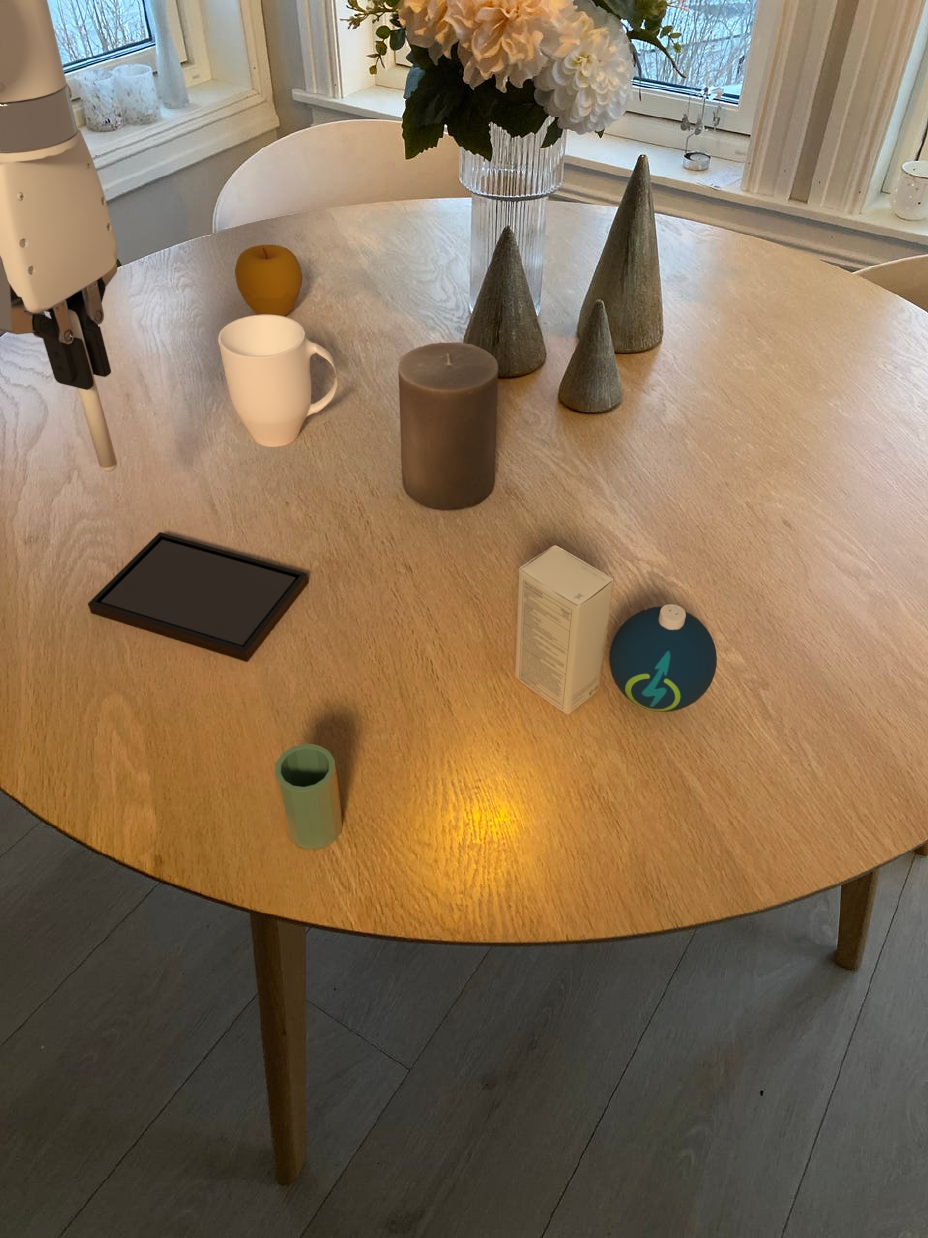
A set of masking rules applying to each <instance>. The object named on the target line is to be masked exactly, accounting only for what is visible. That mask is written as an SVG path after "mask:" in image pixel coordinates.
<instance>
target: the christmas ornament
mask: <svg viewBox="0 0 928 1238" xmlns="http://www.w3.org/2000/svg"><path fill="white" fill-rule="evenodd" d="M608 662H609V668H610V672H611V676H612V679H613V681H614V683H615V685H616V686H617V688H618V689H619V691H620V692H621V693H622V694H623V696H624V697H625V698H626V699H628V700H629V701H630V702H632V703H633V704H634V705H636V706H637V707H640V708H643V709H645V710H648V711H653V712H660V713H669V712H675V711H679V710H682V709H684V708H685V709H686V708H687V707H689V706H691V705H692V704H694V703H696V702H697V701H698V700H700V699H701V698H702V697H703V696H704V694H705V693H706V692H707V691H708V689H709V688H710V686H711V684H712V683H713V680H714V678H715V675H716V672H717V667H718V666H717V665H718V654H717V648H716V644H715V642H714V639H713V637H712V635H711V633H710V631H709V630H708V628H707V627H706V626H705V624H704V623H703V622H702V621H700V619H698V617H696V616H695V615H693V614H692V613H689V612H688V611H686V610H685V609H684V608H683V607H682V606H680V605H678V604H674V603H669V604H667V603H666V604H665V605H663V606H653V607H648V608H645V609H642V610H640V611H638V612H636V613H634V614H633V615H631V616H630V617H629V618H627V619H626V620H625V621H624V622H623V623H622V625H620V626H619V628H618V629H617V631H616V632H615V635H614V637H613V639H612V641H611V645H610V649H609V661H608Z"/></svg>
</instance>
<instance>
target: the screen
mask: <svg viewBox="0 0 928 1238" xmlns="http://www.w3.org/2000/svg"><path fill="white" fill-rule="evenodd" d="M295 580H296V577H292V576H289V575H285V574H282V573H278V572H275V571H271V570H268V569H264V568H260V567H257V566H253V565H250V564H246V563H243V562H239V561H236V560H232V559H229V558H225V557H222V556H218V555H214V554H211V553H207V552H204V551H200V550H197V549H193V548H190V547H186V546H183V545H179V544H176V543H172V542H168V541H165V540H161V541H160V542H159V543H158V544H157V545H156V546H155V547H154V548H153V549H152V550H151V552H150V553H149V554H148V555H147V556H146V557H145V558H144V559H143V560H142V561H141V562H140V563H139V564H138V565H137V566H136V567H135V568H134V569H133V570H132V571H131V572H130V573H129V574H128V575H127V576H126V577H125V578H124V579H123V580H122V581H121V582H120V583H119V584H118V585H117V586H116V587H115V588H114V589H113V590H112V591H111V592H110V593H109V594H108V595H107V596H106V597H105V598H104V599H103V600H102V601H101V602H102V604H105V605H108V606H111V607H115V608H118V609H121V610H124V611H128V612H131V613H134V614H137V615H141V616H144V617H147V618H150V619H153V620H157V621H160V622H163V623H166V624H170V625H173V626H176V627H179V628H183V629H186V630H189V631H192V632H196V633H199V634H202V635H205V636H209V637H212V638H215V639H218V640H222V641H225V642H228V643H231V644H235V645H238V646H241V647H243V646H244V645H245V644H246V642H247V641H248V640H249V639H250V637H251V636H252V635H253V633H254V632H255V631H256V630H257V628H258V627H259V626H260V625H261V623H262V622H263V621H264V620H265V618H266V617H267V616H268V615H269V613H270V612H271V611H272V609H273V608H274V607H275V606H276V604H277V603H278V602H279V601H280V599H281V598H282V597H283V596H284V594H285V593H286V592H287V591H288V589H289V588H290V587H291V585H292V584H293V583H294V582H295Z"/></svg>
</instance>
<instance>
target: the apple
mask: <svg viewBox="0 0 928 1238" xmlns="http://www.w3.org/2000/svg"><path fill="white" fill-rule="evenodd" d="M234 276H235V282H236V286H237V289H238V291H239V293H240V295H241V297H242V299H243V301H244V302H245V303H246V305H247V306H248V307H249V308H250V309H251V311H253V313H255V315H278V316H283V317H287V315H289V314H290V313H291V312H292V310H293V308H294V307H295V305H296V302H297V300H298V298H299V295H300V292H301V287H302V284H303V272H302V269H301V265H300V263H299V260H298V258H297V256H296V255H295V254H294V253H293V252H292V251H291V250H290V249H288V248H287V247H286V246H285V247H284V246H281V245H277V244H259V245H254V246H251V247H248V248H247V249H244V251H243V252H241V253H240V254H239V256H238V257H237V259H236V262H235V267H234Z"/></svg>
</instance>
